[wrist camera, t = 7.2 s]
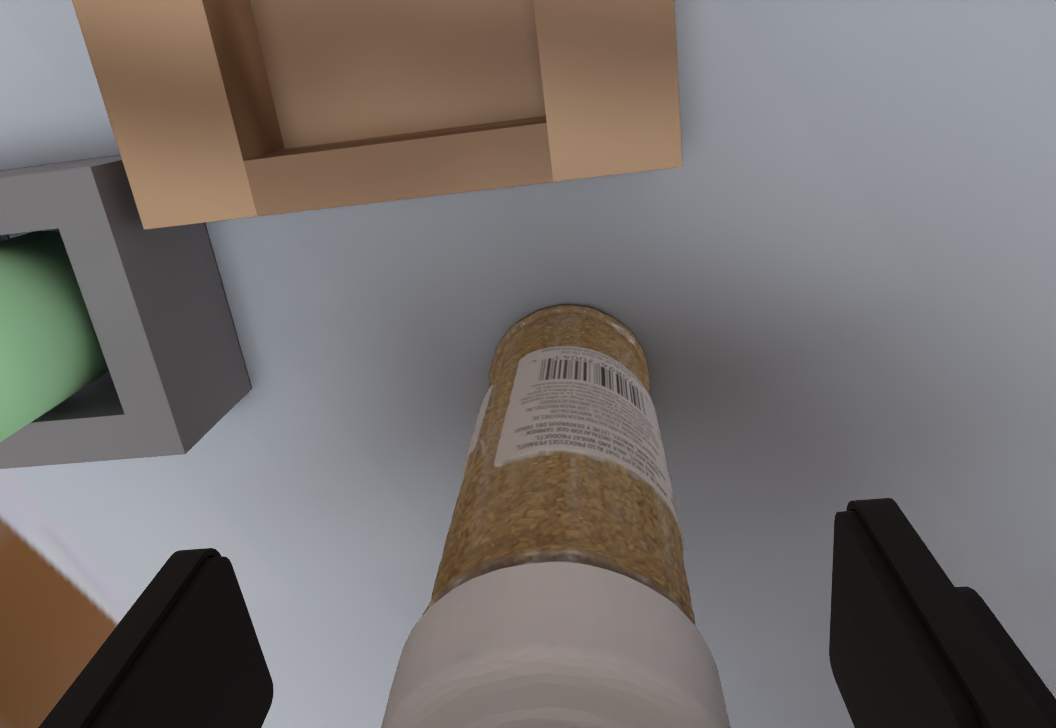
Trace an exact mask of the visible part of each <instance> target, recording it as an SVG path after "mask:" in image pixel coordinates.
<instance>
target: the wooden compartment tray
mask: <svg viewBox="0 0 1056 728" xmlns="http://www.w3.org/2000/svg"><path fill="white" fill-rule="evenodd" d="M72 2H73V5H74V8H75V12H76V15H77V18H78V21H79V24H80V28H81V31H82V34H83V37H84V40H85V43H86V47H87V50H88V53H89V56H90V59H91V63H92V66H93V69H94V72H95V75H96V78H97V82H98V85H99V88H100V91H101V94H102V98H103V101H104V104H105V107H106V110H107V113H108V117H109V120H110V123H111V126H112V129H113V133H114V136H115V139H116V142H117V145H118V148H119V152H120V155H121V158H122V161H123V164H124V168H125V171H126V174H127V177H128V180H129V184H130V187H131V190H132V193H133V196H134V199H135V203H136V206H137V209H138V212H139V215H140V219H141V222H142V225H143V228H144V229H153V228H161V227H170V226H179V225H187V224H196V223H204V222H213V221H221V220H230V219H239V218H247V217H256V216H264V215H273V214H281V213H290V212H298V211H307V210H316V209H324V208H333V207H341V206H350V205H358V204H367V203H376V202H384V201H393V200H401V199H410V198H418V197H427V196H435V195H444V194H453V193H461V192H470V191H478V190H487V189H495V188H504V187H513V186H521V185H530V184H538V183H547V182H555V181H564V180H572V179H581V178H590V177H598V176H607V175H615V174H624V173H632V172H641V171H650V170H658V169H667V168H675V167H682V150H681V129H680V109H679V88H678V67H677V46H676V26H675V5H674V0H72Z"/></svg>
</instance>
